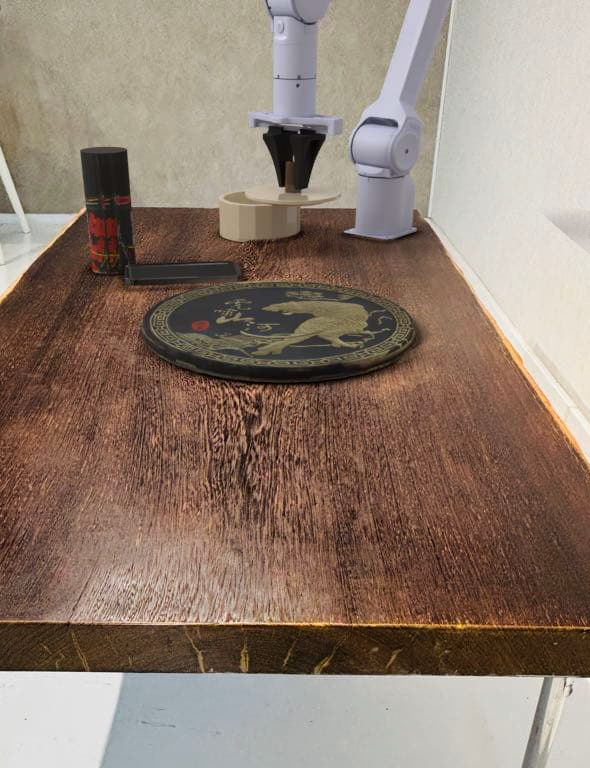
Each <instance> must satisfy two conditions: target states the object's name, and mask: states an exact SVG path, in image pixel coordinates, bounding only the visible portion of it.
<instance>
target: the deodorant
mask: <svg viewBox="0 0 590 768" xmlns="http://www.w3.org/2000/svg"><path fill="white" fill-rule="evenodd" d="M79 153H80V163H81V172H82V184H83V191H84V192H83V193H84V201H85V210H86V211H85V212H86V219H87V230H88V240H89V249H90V250H89V251H90V257H91V258H90V259H91V268H92V272H94V273H95V274H98V275H105V276H117V275H120V276H121V275H125V266H127V265H131V264H137V259H136V258H137V255H136V245H135V231H134V220H133V208H132V207H133V206H132V194H131V181H130V169H129V168H130V167H129V156H128V148H125V147H121V146H94V147H93V146H92V147H86V148H82V149H80V150H79Z"/></svg>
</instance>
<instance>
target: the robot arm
mask: <svg viewBox="0 0 590 768" xmlns="http://www.w3.org/2000/svg"><path fill="white" fill-rule="evenodd" d="M333 1H334V0H263V5H264V10H265V12H266V14H267V16H268V17H269V20H270V33H272V36H273V65H272V67H273V68H272V69H273V71H272V72H273V73H272V74H273V85H272V88H273V89H272V91H273V92H272V93H273V94H272V95H273V96H272V97H273V98H272V99H273V100H272V101H273V103H272V106H273V107H272V108H273V109H272V111H266V110H265V111H264V110H253V111H248V128H252V129H253V128H254V129H255V128H263V129H268V130H267V132H264V133H262V140H263V143H264V145H265V146H266V148H267V150H268V152H269V155H270V157H271V160H272V163H273V166H274V170H275V174H276V179H277V183H278V184H279V187H282V188H283V187H285V160H291V159H294V163H295V188H296V190H302V189H306V188H308V185H309V183H310V181H311V180H310V179H311V176H312V173H313V169H314V165H315V163H316V160H317V157H318V155H319V153H320V151H321V149H322V147H323V145H324V143H326V142H325V141H326V140H327V136H333V137H334V136H339V135H342V134H343V127H344V126H343V125H344V118H343V117H335V116H329V115H323V114H317V112H316V111H317V110H316V109H317V80H318V78H317V76H318V75H317V72H318V42H319V21H322V20H323V18H324V17H325V16H326V14H327V11H328V9H329V5H330V3H331V2H333ZM451 2H452V0H410V2H409V3H408V7H407V10H406V14H405V17H404V19H403V22H402V25H401V29H400V32H399V35H398V39H397V42H396V45H395V48H394V51H393V53H392V57H391V61H390V63H389V66H388V70H387V73H386V75H385V78H384V82H383V85H382V88H381V91H380V94H379V97H378V98H377V99H376V100H375V101H374V102H372V103H371V104H370V105H368V107H366V108H365V109H364V110H363V111H362V114H361V116H360V120H359V121H358V122H357V125H356V126H355V128H353V130H352V132H351V133H350V136H349V140H348V144H347V145H348V146H347V150H348V157H349V159H350V161H351V163H352V164H353V165H354V172H356V173H357V185H356V186H357V187H356V204H355V222H354V227H353V228H350V229H346V230H344V231H343V233H346V234H353V235H358V236H363V237H370V238H375V239H380V240H395V239H399V238H401V237H403V236H406V235H407V236H408V235H410V234H412V233H415V232H417V231H418V228H417V227H413V222H414V221H413V220H414V210H415V198H416V185H415V182H414V179H413V177H412V176H411V170H413V168H414V167H415V166H416V164H417V161H418V159H419V156H420V151H421V150H420V149H421V137H422V133H423V131H424V128H425V127H424V124H423V122H422V120H421V118H420V117H419V115H418V113H417V112H416V110H415V109H416V106H417V103H418V100H419V96H420V93H421V91H422V88H423V86H424V82H425V79H426V76H427V73H428V70H429V67H430V64H431V61H432V58H433V55H434V52H435V49H436V46H437V43H438V40H439V37H440V34H441V31H442V29H443V25H444V23H445V19H446V16H447V14H448V10H449V7H450V5H451ZM299 125H301V126H299Z"/></svg>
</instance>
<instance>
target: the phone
mask: <svg viewBox="0 0 590 768" xmlns="http://www.w3.org/2000/svg"><path fill="white" fill-rule="evenodd" d="M242 280H243V275H242V270H241V269H240V265H239V263H238V262H237V261H234V260H218V261H217V260H215V261H213V260H212V261H190V262H188V261H187V262H184V261H183V262H160V263H136V264H131V265H127V266H125V274H124V285H127V286H131V287H132V286H135V287H136V286H159V285H160V286H162V285H190V284H193V285H194V284H215V283H216V284H218V283H221V284H222V283H236V282H242Z"/></svg>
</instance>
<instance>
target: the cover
mask: <svg viewBox="0 0 590 768" xmlns="http://www.w3.org/2000/svg"><path fill="white" fill-rule="evenodd" d="M245 190H246V191H245V196H246V197H247V198H248V199H250V200H253V201H257V202H262V203H265V204H268V205H275V206H287V207H300V206H301V207H310V206H311V207H312V206H319V205H322V204H325V203H331V202H333V201H337V200H338V199H340V198H341V197H342V190H341V189H339V188H337V187H335V186H331V185H326V184H319V183H310V182H309V185H308V188H306V189H302V190H296V188H295V163H294V158H293V159H291V160H285V187H283V188H282V187H279V184H278V182H275V183H265V184H259V185H258V184H257V185H255V186H251V187H249V188H246V189H245Z"/></svg>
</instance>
